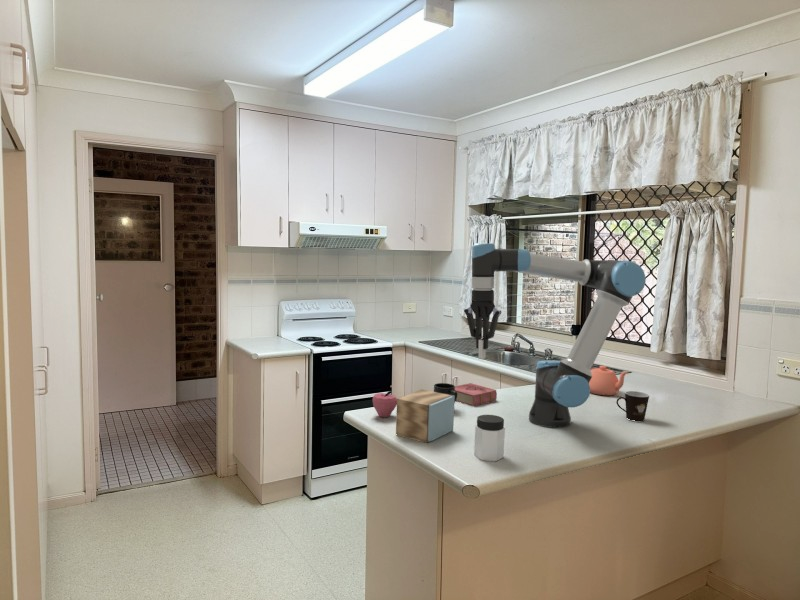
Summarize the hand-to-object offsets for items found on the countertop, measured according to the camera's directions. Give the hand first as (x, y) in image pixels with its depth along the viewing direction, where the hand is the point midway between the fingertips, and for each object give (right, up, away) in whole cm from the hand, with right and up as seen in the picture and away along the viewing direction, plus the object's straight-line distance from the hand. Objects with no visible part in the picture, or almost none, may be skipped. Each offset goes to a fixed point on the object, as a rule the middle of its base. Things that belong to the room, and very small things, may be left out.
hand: (482, 358), depth 191 cm
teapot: (+64, -23, +64) cm, 94 cm away
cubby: (-20, -26, +2) cm, 33 cm away
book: (+2, -23, +45) cm, 51 cm away
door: (-14, -26, -2) cm, 30 cm away
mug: (-10, -24, +29) cm, 38 cm away
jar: (-1, -29, -18) cm, 34 cm away
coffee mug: (+61, -26, +26) cm, 71 cm away
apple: (-34, -24, +18) cm, 45 cm away
